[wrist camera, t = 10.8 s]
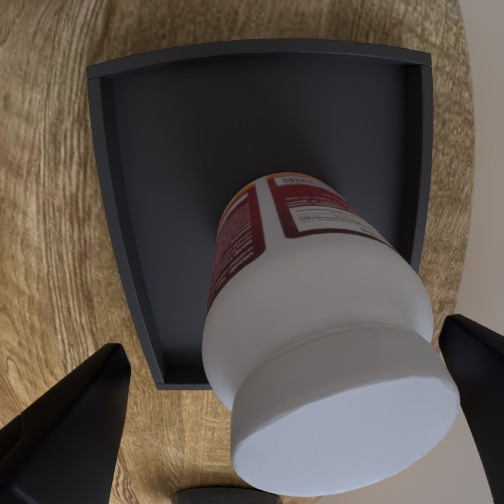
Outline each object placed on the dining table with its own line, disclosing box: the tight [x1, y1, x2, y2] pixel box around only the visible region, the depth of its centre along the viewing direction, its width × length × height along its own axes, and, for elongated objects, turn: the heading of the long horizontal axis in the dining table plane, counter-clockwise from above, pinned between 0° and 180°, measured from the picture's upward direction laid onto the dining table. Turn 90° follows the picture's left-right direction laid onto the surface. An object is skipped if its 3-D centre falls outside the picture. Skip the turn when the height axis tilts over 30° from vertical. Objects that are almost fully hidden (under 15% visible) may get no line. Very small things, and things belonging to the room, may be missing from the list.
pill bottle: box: [202, 172, 460, 497], centre depth 10 cm, size 6×6×11 cm
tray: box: [87, 38, 433, 390], centre depth 15 cm, size 17×14×2 cm
